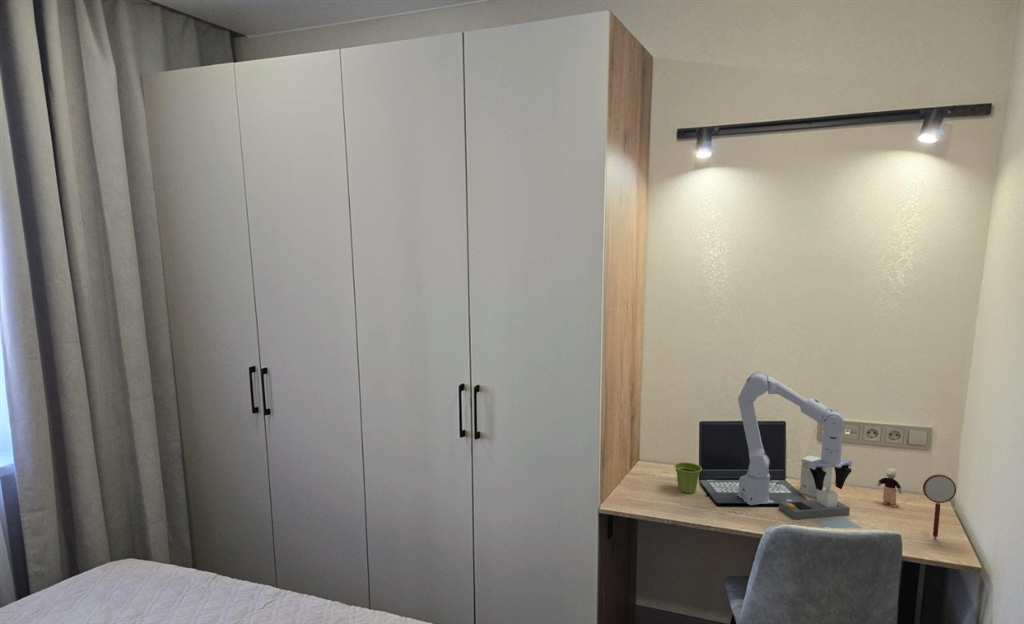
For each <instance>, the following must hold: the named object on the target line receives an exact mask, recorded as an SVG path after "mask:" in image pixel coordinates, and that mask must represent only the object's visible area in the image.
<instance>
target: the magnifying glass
mask: <svg viewBox="0 0 1024 624" xmlns="http://www.w3.org/2000/svg"><path fill="white" fill-rule="evenodd" d="M922 491H923V495H924V496H925V497H926V498H927V499H928V500H929V501H931V502H932V503H935V505H934V506H935V507H934V508H935V509H934V518H933V527H932V529H933V530H932V536H933V539H934V538H935V539H934V540H936V539H937V537H938V536H939V526H940V525H939V524H940V516H941V515H940V514H941V513H940V512H941V504H942V503H943V504H944V503H947V502H950V501H951V500H952V499H953V498H954V497H955V496H956V492H957V486H956V483H955V481H954V480H953V479H952V478H950V477H949V476H947V475H944V474H933V475H931V476H929V477H927V478H926V480H925V481H924V482H923V485H922Z"/></svg>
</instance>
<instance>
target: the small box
mask: <svg viewBox="0 0 1024 624" xmlns="http://www.w3.org/2000/svg"><path fill="white" fill-rule="evenodd" d="M819 459H821V457H819V456H814V455H810V454H809V455H806V456H804V457H803V458H801V469H800V484H799V493H800V494H803V495H806V496H809V497H813V498H815V499H817V489H816V486H815V481H814V478H813V475H812V473H811V471H810V469H809V462H812V461H816V460H819ZM822 469H823V471H825V472H826V475H825V477H824V481H823V487H827V486H828V487H830V489H831V490H832V477H833V467H830V468H822Z"/></svg>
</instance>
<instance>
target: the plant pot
mask: <svg viewBox="0 0 1024 624" xmlns="http://www.w3.org/2000/svg"><path fill="white" fill-rule="evenodd" d="M674 468H675V471H676V479H677V480H676V481H677V489H678V491H680V492H681V493H686V494H694V493H696V491H697V488H698V482H699V477H700V475H701V472H702V470H703V468H702V466H701V465H699V464H696V463H692V462H677V463H675V464H674Z"/></svg>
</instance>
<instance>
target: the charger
mask: <svg viewBox="0 0 1024 624" xmlns="http://www.w3.org/2000/svg"><path fill="white" fill-rule="evenodd" d="M838 495H839V493H838V492H836V491H835V490H833V489H832V488H831V489H830V487H828V486H827V487H823V489H822V491H820V490H818V489H817V498H816V499H817V502H819V503H820V504H822V505H824V506H825V507H827V508H834V507H837V501H838V499H839V497H838Z"/></svg>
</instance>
